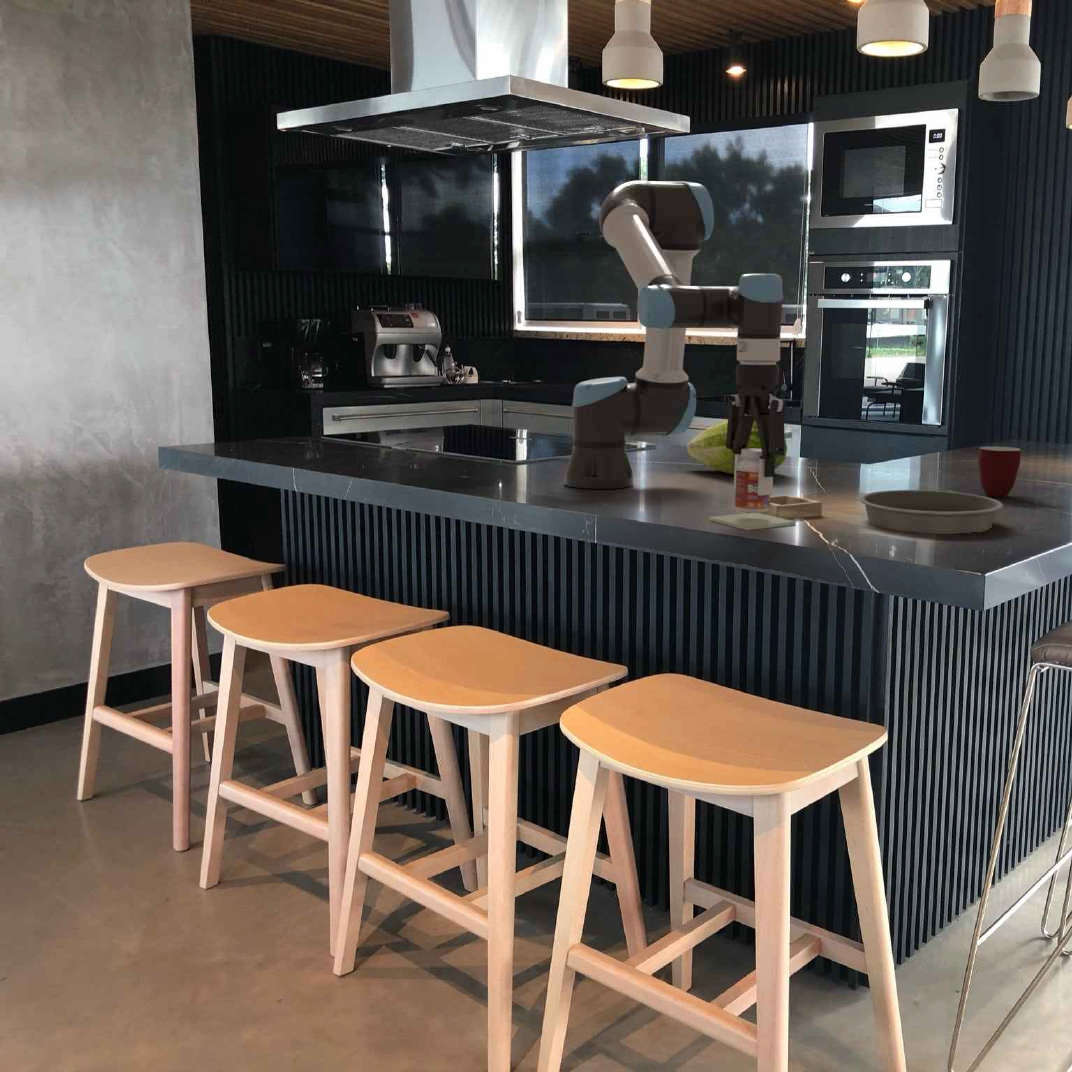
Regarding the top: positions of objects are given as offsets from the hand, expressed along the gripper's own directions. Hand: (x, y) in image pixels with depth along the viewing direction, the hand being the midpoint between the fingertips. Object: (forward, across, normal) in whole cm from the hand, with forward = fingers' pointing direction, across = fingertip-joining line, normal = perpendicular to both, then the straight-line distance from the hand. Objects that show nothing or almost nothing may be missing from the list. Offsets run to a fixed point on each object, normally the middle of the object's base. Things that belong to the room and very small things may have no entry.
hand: (752, 491), depth 208 cm
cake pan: (+6, +15, +28) cm, 33 cm away
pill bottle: (+4, 0, 0) cm, 4 cm away
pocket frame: (+6, -5, +12) cm, 14 cm away
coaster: (+6, 0, 0) cm, 6 cm away
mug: (+6, -1, +66) cm, 66 cm away
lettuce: (+6, -54, +38) cm, 66 cm away
